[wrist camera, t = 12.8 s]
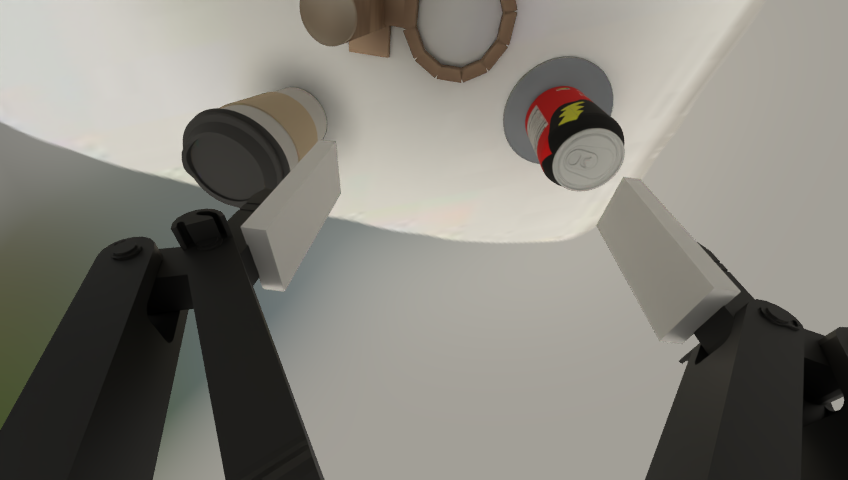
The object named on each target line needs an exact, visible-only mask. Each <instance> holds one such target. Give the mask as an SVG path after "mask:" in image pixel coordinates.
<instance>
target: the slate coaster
mask: <svg viewBox="0 0 848 480" xmlns="http://www.w3.org/2000/svg"><path fill="white" fill-rule="evenodd" d="M559 86H569V87H573V88H576V89H578V90H579V91H581V92H582V93H583V94H584V95H585V96H587V97H588V98H589V99H590V100H591V101H593V102H594V103H595V104H596V105H597V106H598V107H600V108H601V109H602V110H603V111H604V112H606V113H607V114H608V115H609V116H611V112H612V107H613V92H612V87H611V84H610V82H609V80H608V78H607V76H606V75H605V73H604V72H603V71H602V70H601V69H600V68H599V67H598V66H596V65H595V64H593V63H592V62H590V61H587V60H585V59H582V58H577V57H560V58H555V59H552V60H549V61H546V62H544V63H542V64H540V65H538V66H536V67H535V68H533V69H532V70H530V71H529V72H528V73H527V74H525V75H524V76H523V78H522V79H521V80H520V81H519V82H518V83H517V84H516V86H515V87H514V89H513V90H512V92H511V94H510V96H509V98H508V100H507V103H506V106H505V110H504V118H503V124H504V131H505V135H506V138H507V141H508V142H509V144H510V146H511V147H512V149H513V150H514V151H515V152H516V153H517V154H518V155H519V156H521V157H522V158H524V159H526V160H528V161H530V162H533V163H538V164H540V163H539V160H538V158H537V156H536V153H535V151H534V149H533V146H532V144H531V142H530V139H529V137H528V135H527V132H526V128H525V119H526V115H527V112H528V110H529V108H530V106H531V104H532V103H533V102H534V100H535V99H536V98H537V97H538V96H539V95H541V94H542V93H543V92H545V91H547V90H549V89H551V88H554V87H559Z"/></svg>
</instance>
